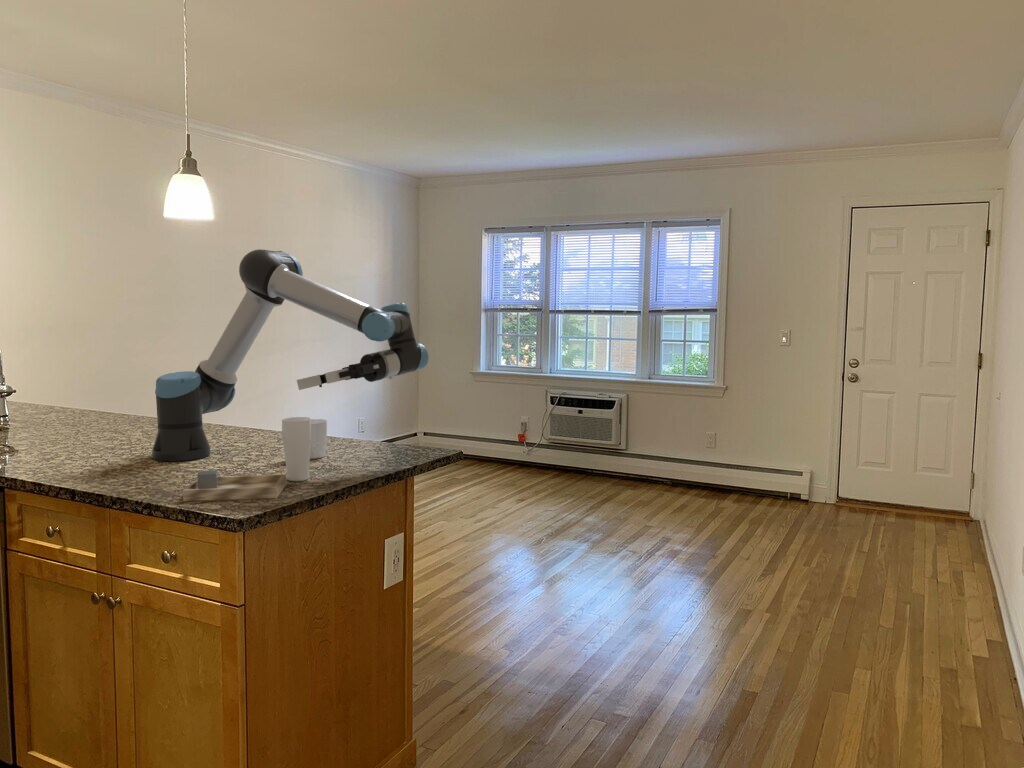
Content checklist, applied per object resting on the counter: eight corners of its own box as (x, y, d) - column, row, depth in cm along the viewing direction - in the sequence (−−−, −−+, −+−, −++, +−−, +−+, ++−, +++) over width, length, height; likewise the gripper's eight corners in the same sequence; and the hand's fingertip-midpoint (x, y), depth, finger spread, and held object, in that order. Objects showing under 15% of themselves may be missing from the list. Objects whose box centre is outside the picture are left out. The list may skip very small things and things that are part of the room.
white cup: (320, 459, 219) (319, 423, 218) (294, 458, 221) (292, 423, 220) (332, 454, 227) (331, 419, 226) (307, 453, 228) (305, 418, 227)
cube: (198, 492, 179) (197, 475, 179) (199, 488, 183) (198, 471, 182) (217, 491, 180) (216, 473, 180) (218, 487, 184) (217, 470, 184)
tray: (183, 501, 175) (182, 490, 175) (199, 487, 188) (199, 477, 187) (276, 497, 177) (276, 487, 177) (286, 484, 190) (286, 474, 190)
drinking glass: (286, 476, 198) (284, 417, 197) (314, 476, 199) (312, 416, 197) (281, 483, 191) (279, 421, 190) (310, 482, 192) (308, 420, 190)
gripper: (410, 373, 208) (343, 390, 193) (356, 384, 225) (290, 401, 210) (403, 345, 207) (335, 360, 192) (349, 358, 225) (283, 373, 210)
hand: (312, 381), depth 201 cm, fingers open, 13 cm apart
